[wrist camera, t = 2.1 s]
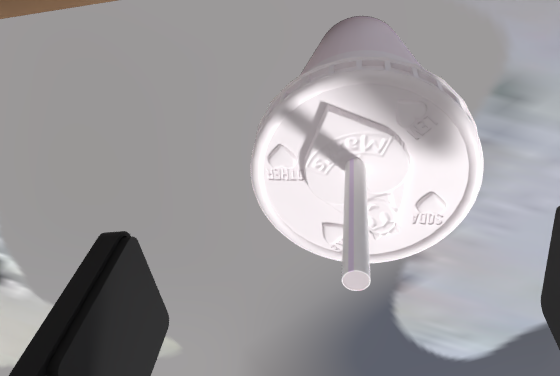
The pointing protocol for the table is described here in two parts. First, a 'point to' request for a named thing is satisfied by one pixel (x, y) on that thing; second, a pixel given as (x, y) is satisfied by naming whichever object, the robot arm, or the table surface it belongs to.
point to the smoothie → (366, 153)
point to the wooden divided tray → (39, 6)
